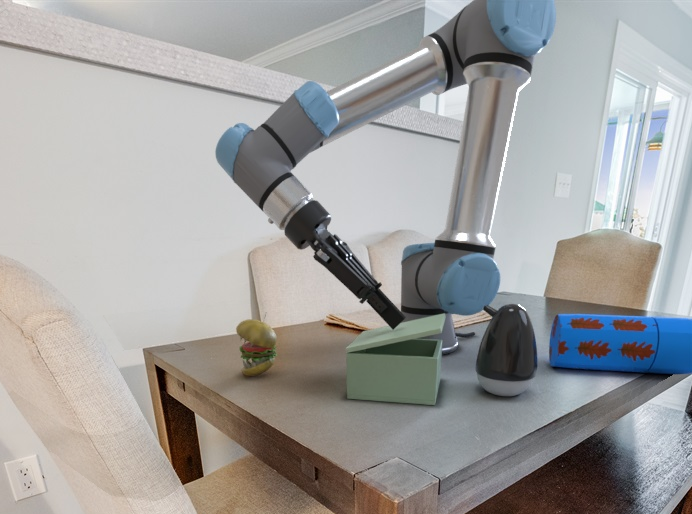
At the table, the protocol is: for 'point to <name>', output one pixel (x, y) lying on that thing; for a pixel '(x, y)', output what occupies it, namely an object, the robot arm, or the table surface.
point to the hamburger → (257, 346)
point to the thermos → (621, 343)
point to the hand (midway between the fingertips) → (399, 323)
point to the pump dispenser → (507, 352)
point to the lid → (398, 333)
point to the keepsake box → (396, 372)
